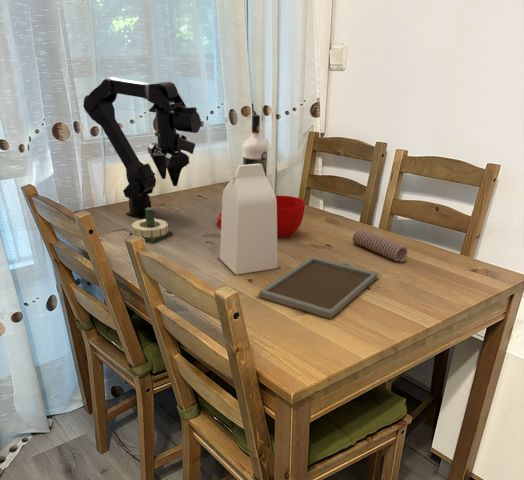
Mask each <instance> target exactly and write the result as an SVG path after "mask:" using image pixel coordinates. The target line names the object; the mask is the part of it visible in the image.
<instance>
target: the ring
mask: <svg viewBox="0 0 524 480" xmlns="http://www.w3.org/2000/svg"><path fill="white" fill-rule="evenodd" d="M154 222H155V227H153V228H147V225H146V218H142V219H137V220H136V221H134V222H132V224H131V232H132V233H133V234H135V235H138V236H141V237H149V238H151V237H159V236H163V235H165V234H166V233H167V232H168V230H169V223H168V222H167V221H166V220H164V219H160V218H154Z"/></svg>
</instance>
